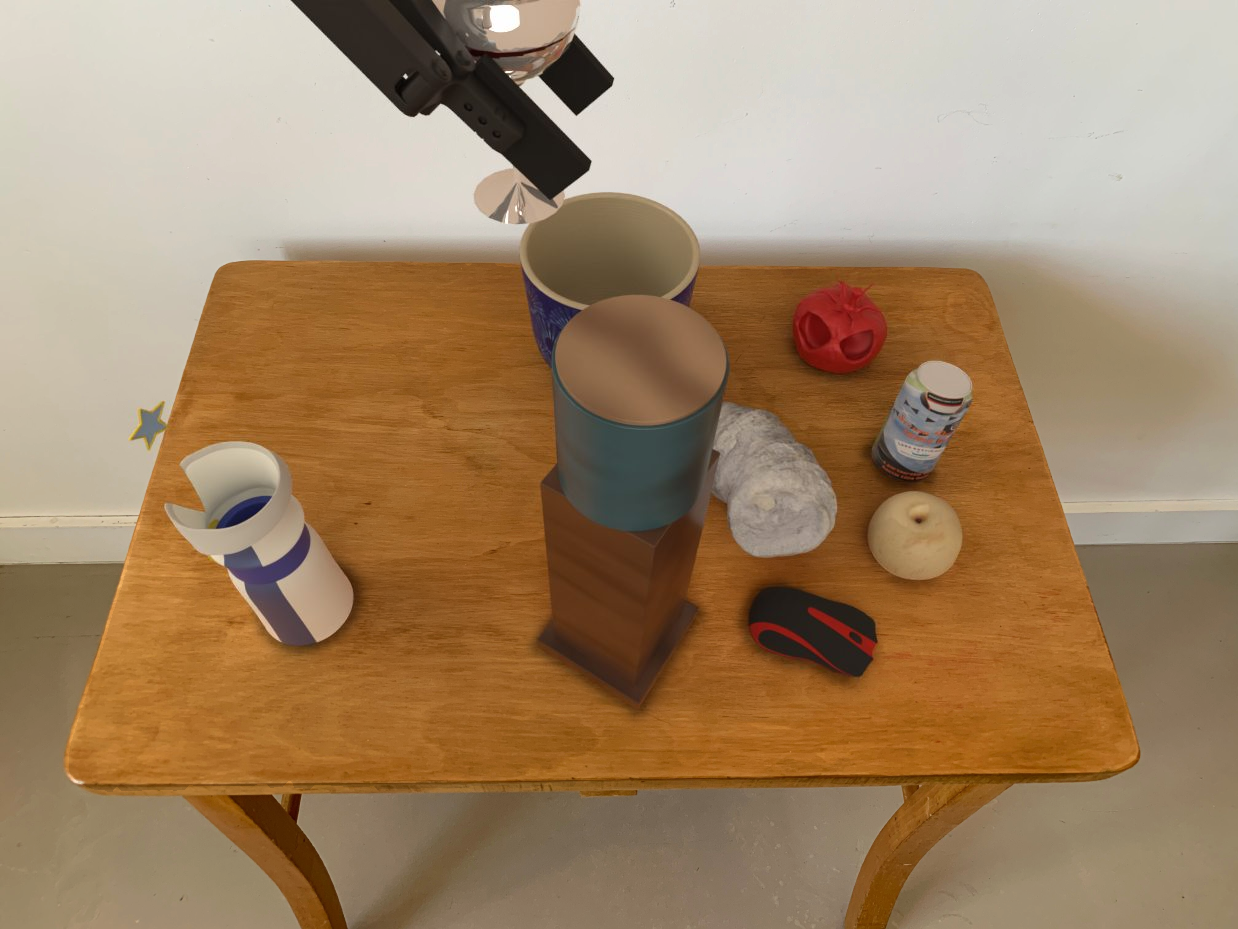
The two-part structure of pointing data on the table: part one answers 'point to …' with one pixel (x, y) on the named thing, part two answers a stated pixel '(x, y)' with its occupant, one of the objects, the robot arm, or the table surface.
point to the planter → (603, 258)
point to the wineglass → (524, 48)
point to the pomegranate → (838, 328)
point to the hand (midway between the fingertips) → (583, 136)
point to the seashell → (770, 485)
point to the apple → (915, 535)
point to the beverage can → (922, 421)
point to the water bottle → (259, 536)
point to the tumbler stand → (629, 485)
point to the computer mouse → (813, 629)
